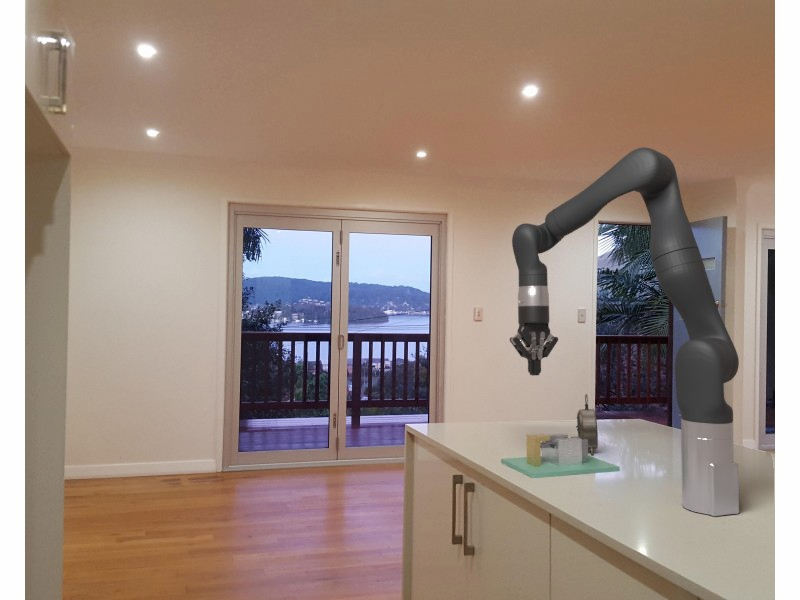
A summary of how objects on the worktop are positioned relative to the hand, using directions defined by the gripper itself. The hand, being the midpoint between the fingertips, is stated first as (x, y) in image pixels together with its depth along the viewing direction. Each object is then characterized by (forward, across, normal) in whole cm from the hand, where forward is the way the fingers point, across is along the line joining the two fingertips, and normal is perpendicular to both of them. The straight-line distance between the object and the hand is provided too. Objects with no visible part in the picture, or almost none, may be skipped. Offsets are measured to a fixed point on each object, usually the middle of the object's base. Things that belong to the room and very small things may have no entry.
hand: (534, 375), depth 152 cm
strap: (+18, +8, +2) cm, 20 cm away
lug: (+22, +2, +2) cm, 22 cm away
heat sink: (+22, +10, +2) cm, 25 cm away
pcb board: (+23, +8, +2) cm, 25 cm away
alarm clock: (+23, +25, +15) cm, 37 cm away
